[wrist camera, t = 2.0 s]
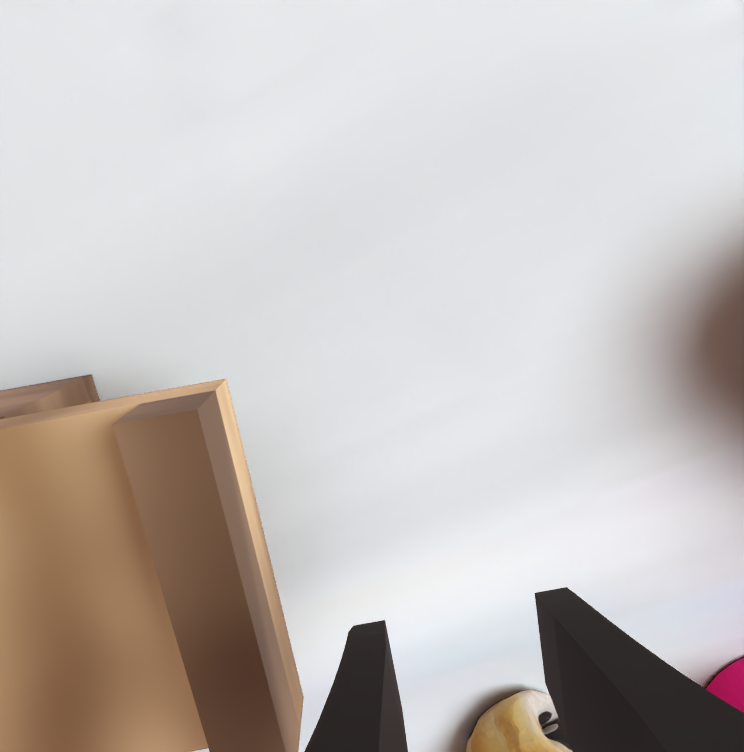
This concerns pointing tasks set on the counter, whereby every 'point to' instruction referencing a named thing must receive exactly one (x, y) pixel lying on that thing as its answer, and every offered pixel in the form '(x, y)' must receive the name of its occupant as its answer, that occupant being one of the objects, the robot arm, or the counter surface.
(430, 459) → the counter surface
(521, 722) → the pastry
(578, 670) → the robot arm
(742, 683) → the pepper mill
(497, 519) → the counter surface
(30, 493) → the lid
